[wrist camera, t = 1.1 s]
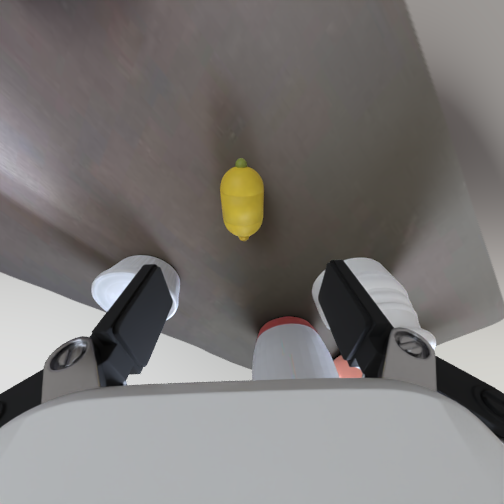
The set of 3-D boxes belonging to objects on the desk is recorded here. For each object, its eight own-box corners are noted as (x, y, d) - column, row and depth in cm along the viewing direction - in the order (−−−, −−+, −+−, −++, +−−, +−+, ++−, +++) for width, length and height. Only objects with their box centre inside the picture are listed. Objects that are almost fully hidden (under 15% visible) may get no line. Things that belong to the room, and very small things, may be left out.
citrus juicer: (283, 358, 47) (303, 482, 30) (235, 331, 39) (227, 477, 23) (337, 333, 41) (399, 471, 25) (293, 297, 34) (338, 459, 17)
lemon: (219, 155, 20) (213, 162, 16) (262, 155, 20) (267, 161, 16) (227, 231, 26) (223, 250, 22) (261, 231, 26) (263, 250, 22)
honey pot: (377, 304, 35) (471, 430, 21) (311, 313, 36) (356, 439, 22) (394, 251, 28) (558, 387, 13) (312, 264, 29) (379, 404, 14)
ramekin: (187, 301, 34) (178, 327, 29) (123, 296, 32) (104, 322, 28) (184, 252, 27) (173, 276, 23) (105, 243, 26) (77, 267, 22)
